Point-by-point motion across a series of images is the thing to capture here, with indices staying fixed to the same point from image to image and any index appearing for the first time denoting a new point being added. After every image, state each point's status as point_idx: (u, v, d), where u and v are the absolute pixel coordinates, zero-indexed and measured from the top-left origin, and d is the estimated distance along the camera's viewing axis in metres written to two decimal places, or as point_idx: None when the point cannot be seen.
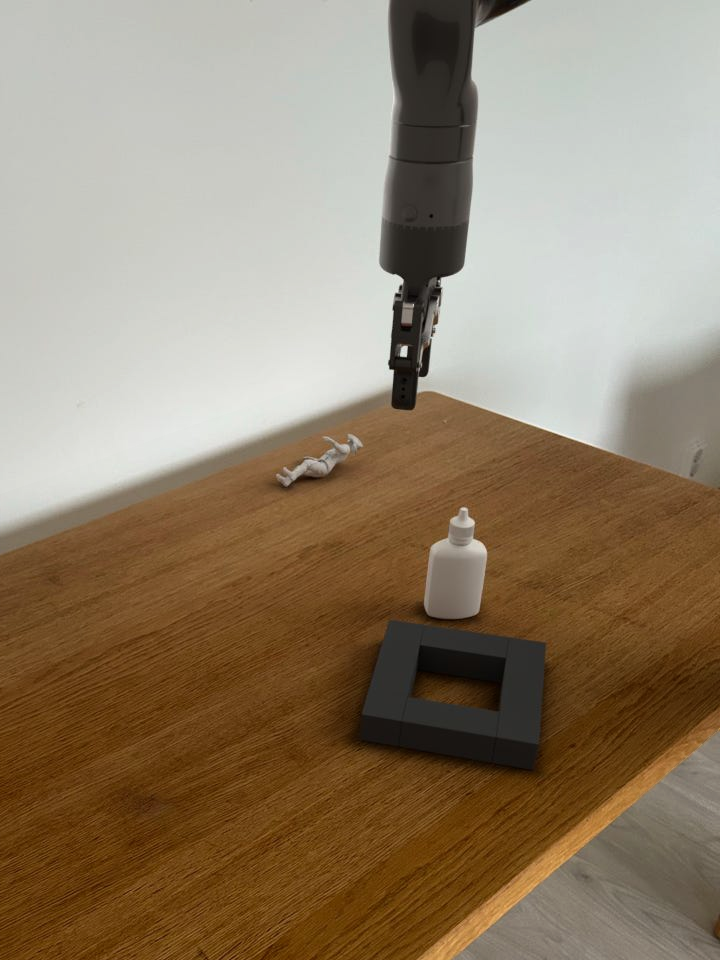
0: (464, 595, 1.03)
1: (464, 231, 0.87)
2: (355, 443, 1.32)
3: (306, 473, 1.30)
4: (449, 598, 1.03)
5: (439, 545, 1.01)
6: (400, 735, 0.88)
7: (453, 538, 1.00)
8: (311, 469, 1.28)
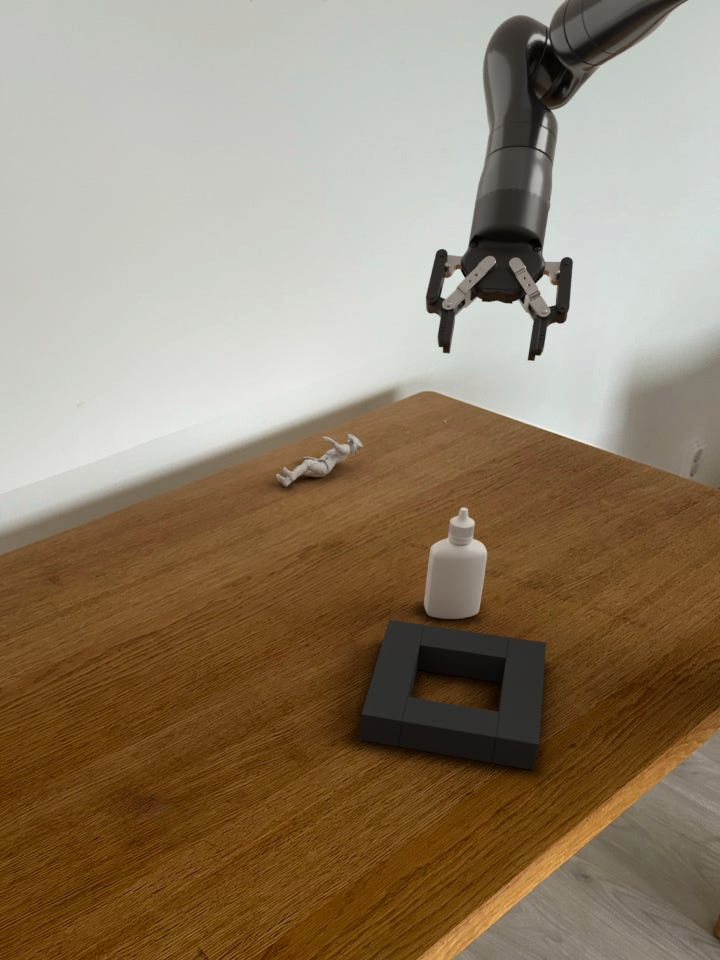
0: (464, 595, 1.03)
1: (500, 196, 1.02)
2: (355, 443, 1.32)
3: (306, 473, 1.30)
4: (449, 598, 1.03)
5: (439, 545, 1.01)
6: (400, 735, 0.88)
7: (453, 538, 1.00)
8: (311, 469, 1.28)
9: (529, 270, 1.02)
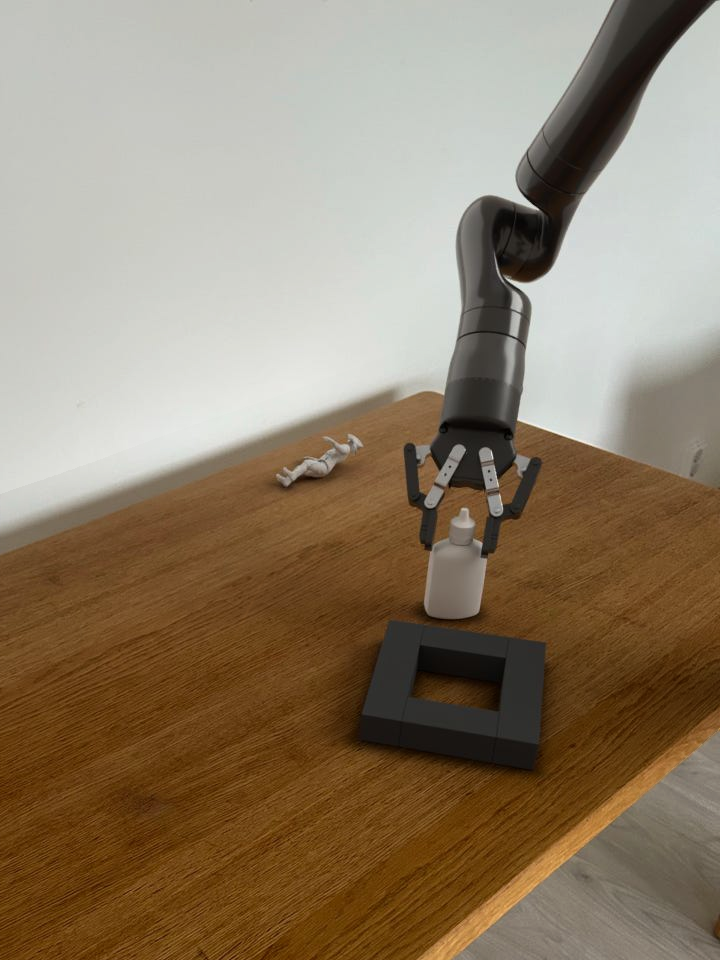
0: (464, 595, 1.03)
1: (470, 385, 0.99)
2: (355, 443, 1.32)
3: (306, 473, 1.30)
4: (449, 598, 1.03)
5: (440, 545, 1.01)
6: (400, 735, 0.88)
7: (453, 538, 1.00)
8: (311, 469, 1.28)
9: (497, 458, 0.99)
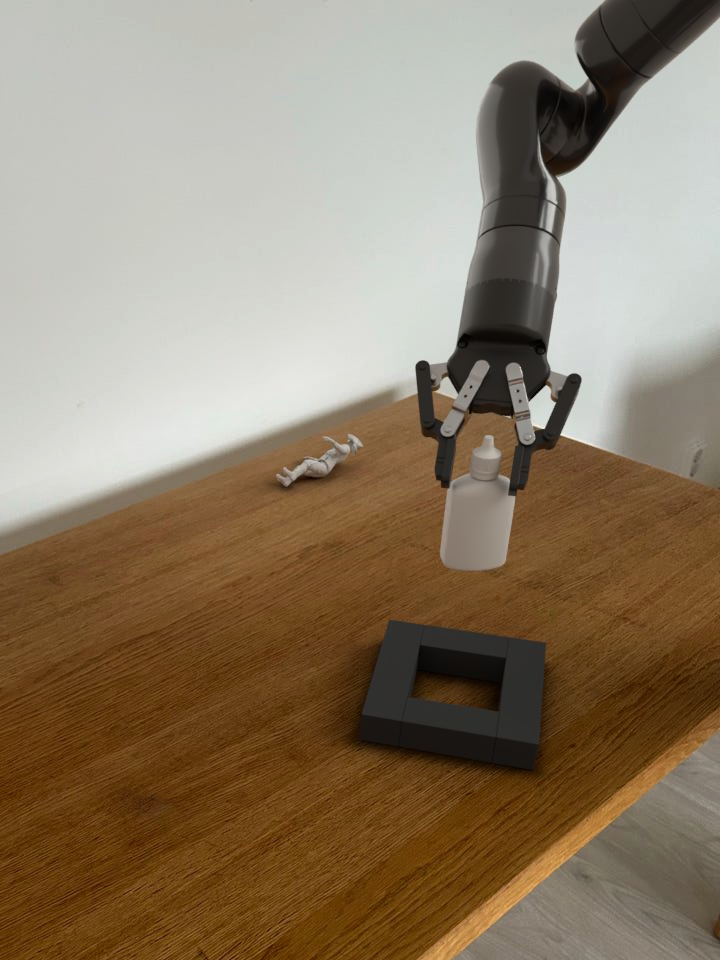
0: (488, 542, 0.87)
1: (495, 287, 0.83)
2: (355, 443, 1.32)
3: (306, 473, 1.30)
4: (470, 546, 0.87)
5: (459, 481, 0.85)
6: (400, 735, 0.88)
7: (475, 473, 0.84)
8: (311, 469, 1.28)
9: (527, 376, 0.83)
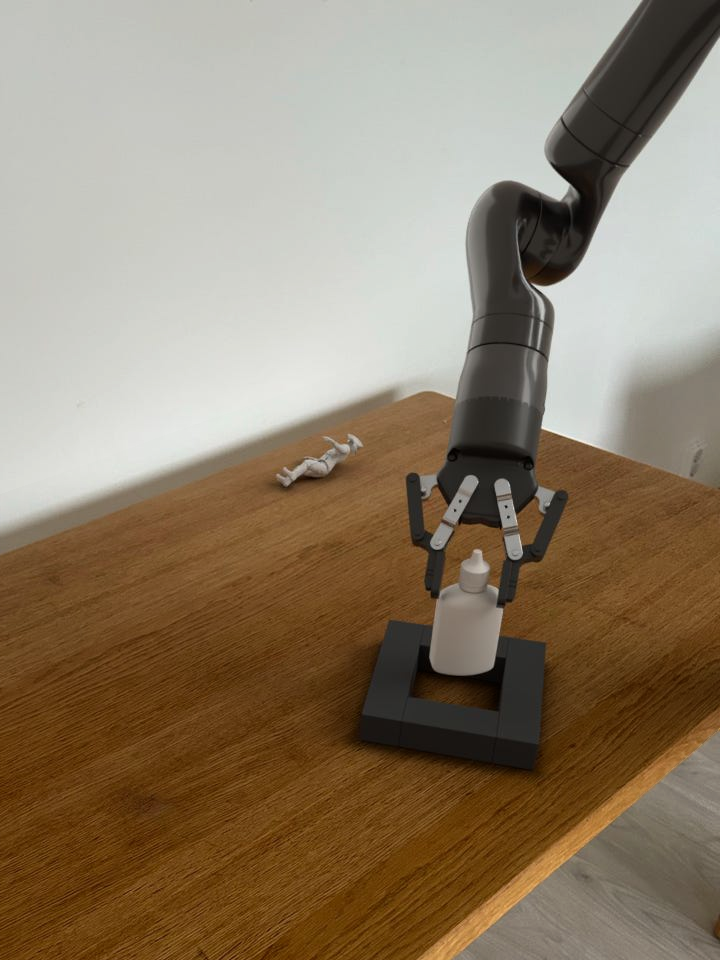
0: (476, 649, 0.88)
1: (484, 405, 0.84)
2: (355, 443, 1.32)
3: (306, 473, 1.30)
4: (459, 653, 0.89)
5: (448, 592, 0.87)
6: (400, 735, 0.88)
7: (464, 585, 0.85)
8: (311, 469, 1.28)
9: (515, 491, 0.85)
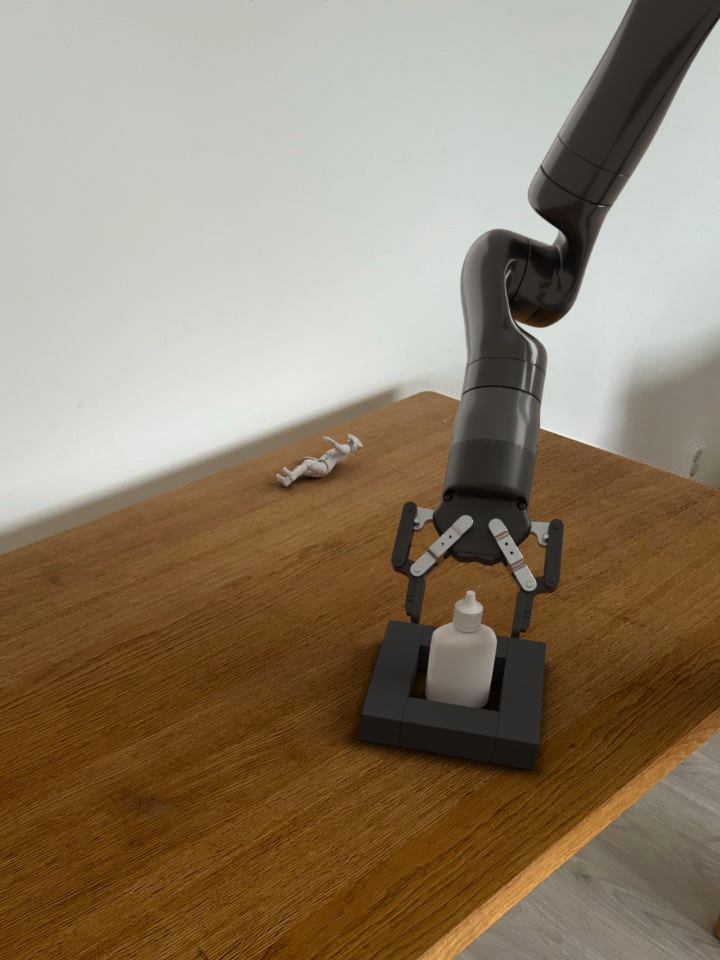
0: (470, 686, 0.91)
1: (478, 447, 0.86)
2: (355, 443, 1.32)
3: (306, 473, 1.30)
4: (453, 690, 0.91)
5: (442, 631, 0.89)
6: (400, 735, 0.88)
7: (458, 625, 0.88)
8: (311, 469, 1.28)
9: (512, 532, 0.87)
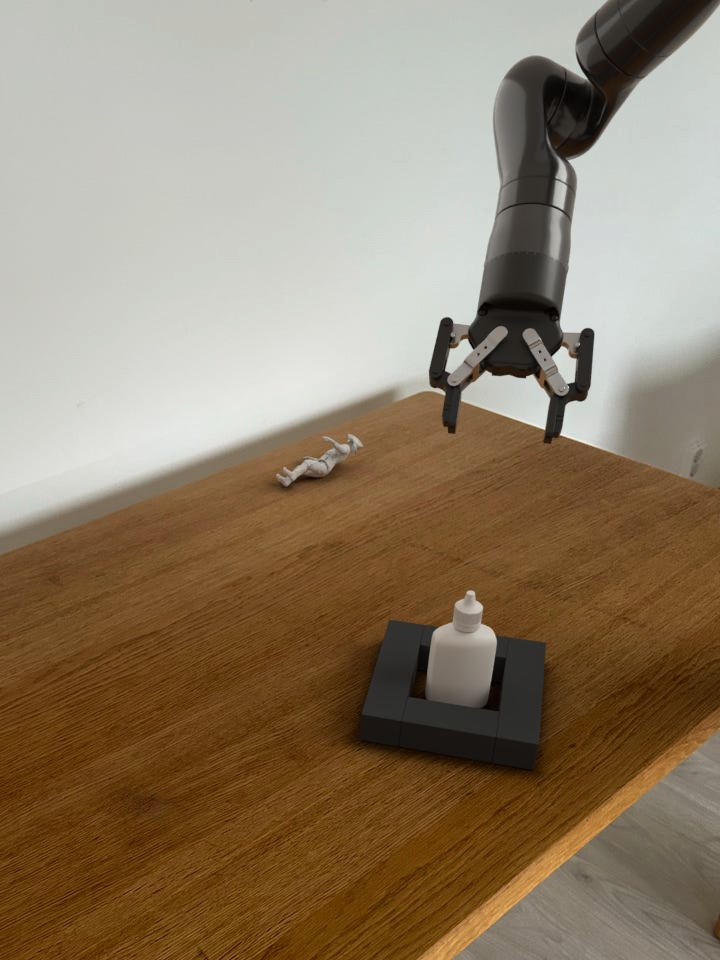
0: (470, 686, 0.91)
1: (513, 260, 0.90)
2: (355, 443, 1.32)
3: (306, 473, 1.30)
4: (453, 690, 0.91)
5: (442, 631, 0.89)
6: (400, 735, 0.88)
7: (458, 625, 0.88)
8: (311, 469, 1.28)
9: (545, 342, 0.91)
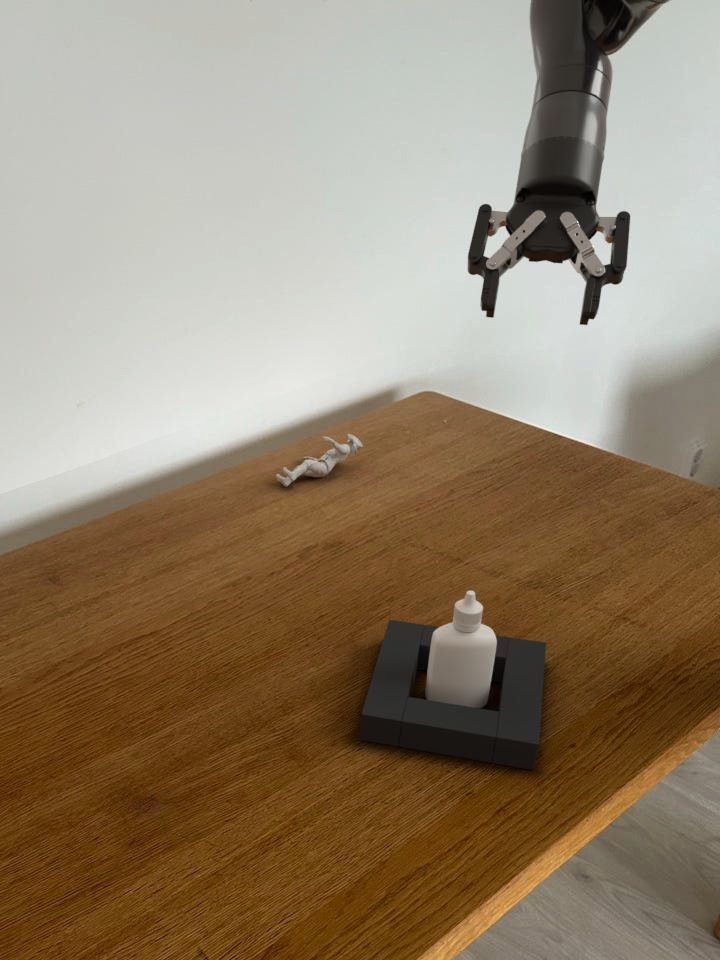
0: (470, 686, 0.91)
1: (551, 145, 0.93)
2: (355, 443, 1.32)
3: (306, 473, 1.30)
4: (453, 690, 0.91)
5: (442, 631, 0.89)
6: (400, 735, 0.88)
7: (458, 625, 0.88)
8: (311, 469, 1.28)
9: (582, 226, 0.94)
